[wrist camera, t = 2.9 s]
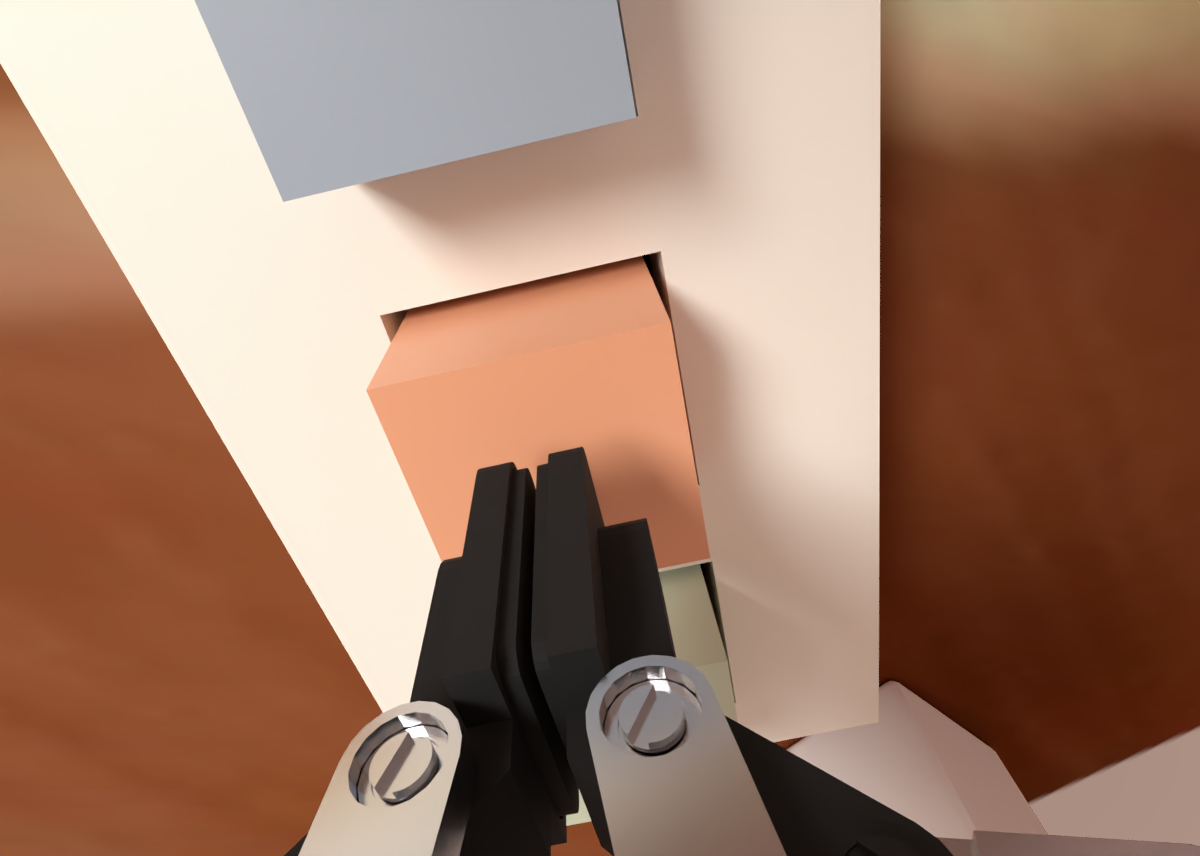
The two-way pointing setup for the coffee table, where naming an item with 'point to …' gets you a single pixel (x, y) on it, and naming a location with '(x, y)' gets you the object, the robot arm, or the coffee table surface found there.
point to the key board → (512, 256)
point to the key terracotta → (545, 401)
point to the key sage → (690, 641)
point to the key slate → (414, 80)
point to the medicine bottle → (923, 769)
